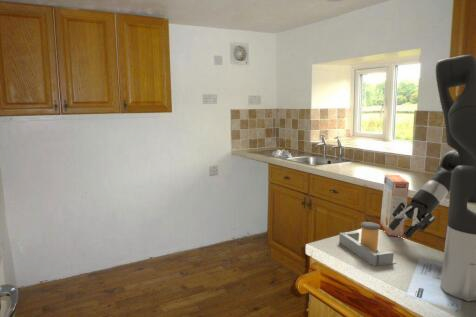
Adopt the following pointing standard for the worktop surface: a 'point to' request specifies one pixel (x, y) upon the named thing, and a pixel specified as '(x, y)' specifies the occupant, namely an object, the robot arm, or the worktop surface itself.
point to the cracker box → (393, 202)
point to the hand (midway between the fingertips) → (398, 232)
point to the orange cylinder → (370, 235)
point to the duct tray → (365, 250)
